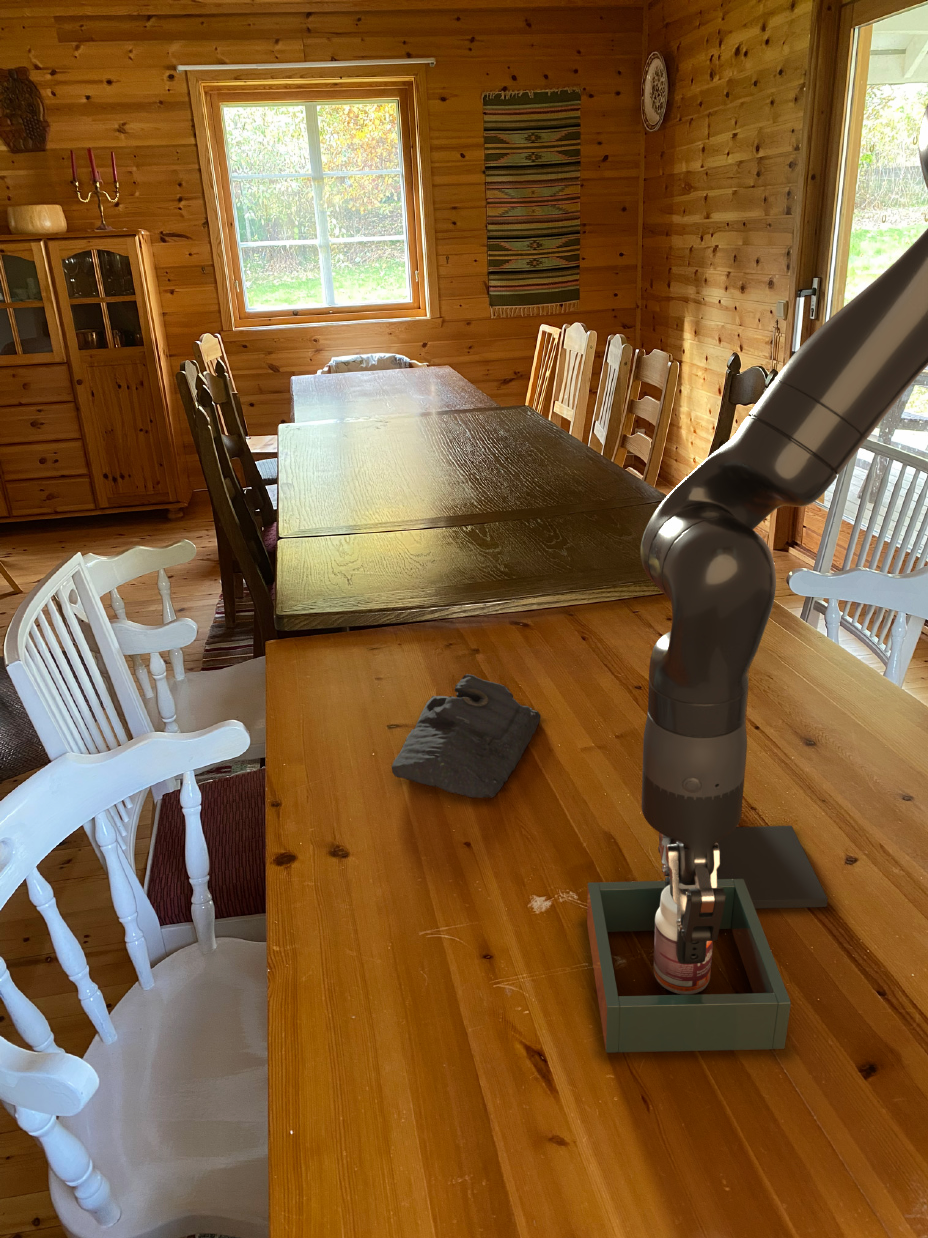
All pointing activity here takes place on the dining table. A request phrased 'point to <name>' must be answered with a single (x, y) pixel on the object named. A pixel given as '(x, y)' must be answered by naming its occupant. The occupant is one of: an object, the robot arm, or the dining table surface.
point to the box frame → (685, 1016)
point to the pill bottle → (665, 958)
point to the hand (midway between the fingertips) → (683, 935)
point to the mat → (771, 867)
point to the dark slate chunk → (467, 739)
